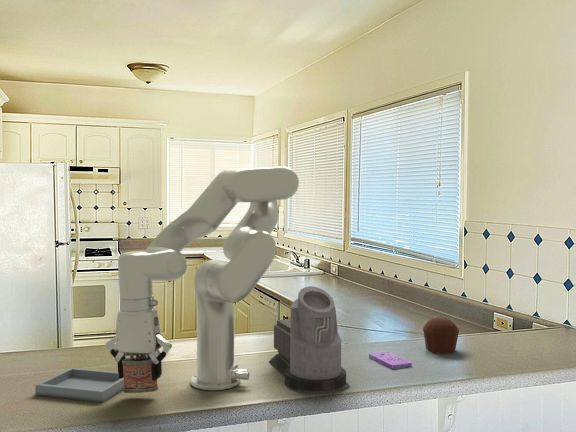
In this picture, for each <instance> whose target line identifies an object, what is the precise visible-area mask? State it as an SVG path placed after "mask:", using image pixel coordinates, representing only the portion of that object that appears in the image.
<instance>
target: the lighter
mask: <svg viewBox="0 0 576 432" xmlns="http://www.w3.org/2000/svg"><path fill="white" fill-rule="evenodd" d="M125 356H126V357H125V358H126V359H123V360H122V364H123V376H124V388H123V390H122V391H123V393H125V394H143V393H152V392H153V393H154V392H156V391H159V384H158V379H157V380H156V381H153V380H152V369H151V365H152V364H153V361H152V359H151V357H150V356H149V354H137V353H125ZM134 356H135V357H134ZM128 357H129V358H128Z"/></svg>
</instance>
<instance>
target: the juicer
mask: <svg viewBox="0 0 576 432" xmlns="http://www.w3.org/2000/svg"><path fill="white" fill-rule="evenodd" d="M273 348H274V349H275V350H277V353H276V354H275V355H274V356H273V357H271V358H270V360H269V361H268V362H269V363H270V364H269V363H268V364H269V365H271V366H272V367H273V368H274V369H275V370H277V372H279V373H280V374H281V375H282V376H284V377H283V378H284V381H283V382H284V384H285V386H287V388H289V389H292V390H296V391H297V392H298V393H299V394H305V395H331V394H337V393H338V394H339V393H341V392H344V391H347V390H348V389H349V388H350V387H351V386H350V384H349V383H348V382H347V370H345V368H344V367H342V339H341V336H340V334H339V328H338V319H337V311H336V305H335V301H334V299H333V298H332V296H331V295H330V293H328V291H325V290H324V289H322V288H320V287H318V286H305V287H303V288H301V289H300V290H299V291H298V295H297V298H296V299H295V300H294V301H293V302H292V303H291V305H290V318H286V319H276V324H274V325H273Z"/></svg>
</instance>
